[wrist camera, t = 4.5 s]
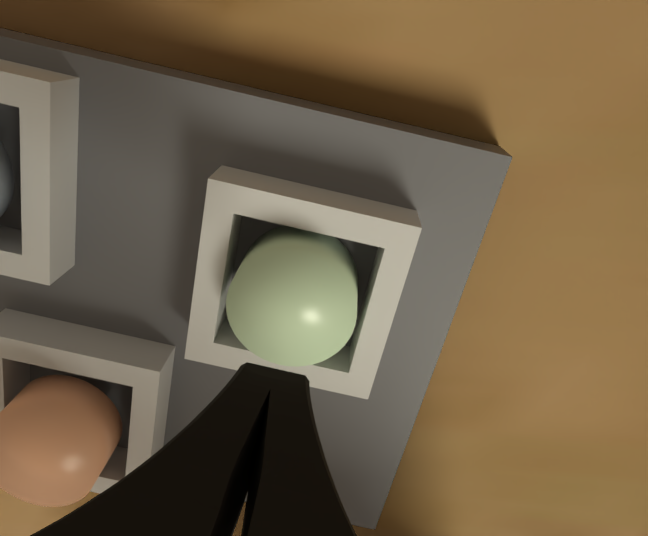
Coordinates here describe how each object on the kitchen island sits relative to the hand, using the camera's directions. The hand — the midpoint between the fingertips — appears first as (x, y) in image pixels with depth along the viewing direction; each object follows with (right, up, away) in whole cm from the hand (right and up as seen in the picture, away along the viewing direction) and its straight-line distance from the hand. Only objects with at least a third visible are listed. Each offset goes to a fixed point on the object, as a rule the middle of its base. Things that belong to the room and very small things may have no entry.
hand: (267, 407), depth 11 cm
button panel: (-4, +2, +8) cm, 9 cm away
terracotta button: (-7, -2, +7) cm, 10 cm away
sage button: (0, +3, +5) cm, 6 cm away
